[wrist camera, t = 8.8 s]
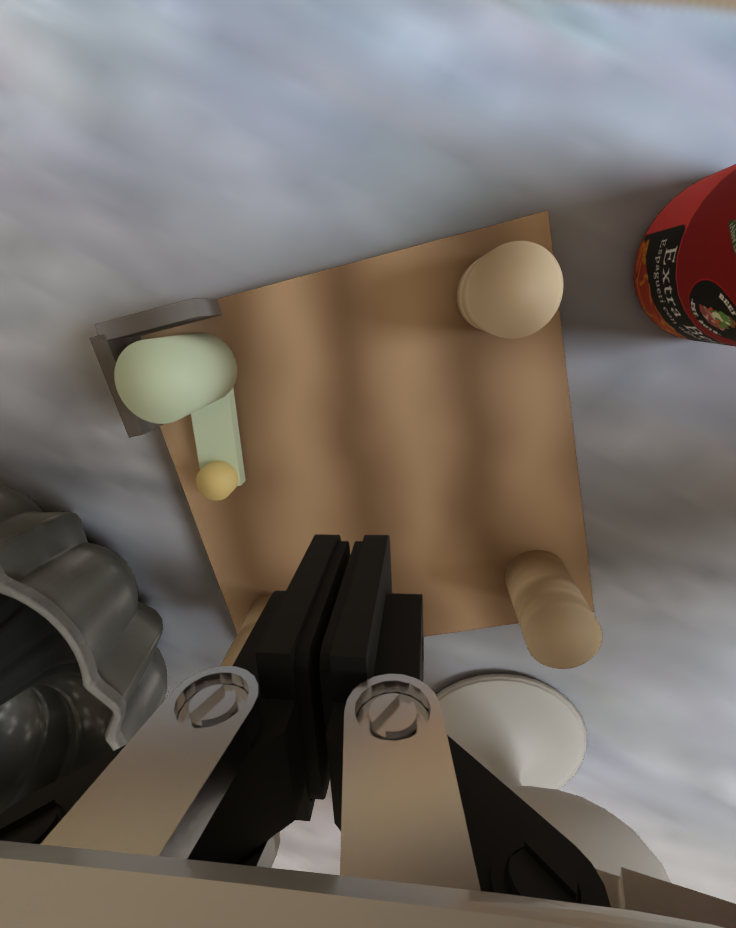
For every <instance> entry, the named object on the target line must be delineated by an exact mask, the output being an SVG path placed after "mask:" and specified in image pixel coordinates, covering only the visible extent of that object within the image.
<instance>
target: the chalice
mask: <svg viewBox="0 0 736 928" xmlns="http://www.w3.org/2000/svg"><path fill="white" fill-rule="evenodd" d="M436 696H437V698H438V700H439V703H440V705H441V709H442V714H443V719H444V723H445V728H446V732H447V735H448V736H449V737H451V738H452V739H453V740H454V741H455V742H456V743H457V744H459V745H460V746H461V747H462V748H463V749H464V750H466V751H467V752H468V753H469V754H470V755H471V756H473V757H474V758H475V759H476V760H477V761H478V762H479V763H481V764H482V765H483V766H484V767H485V768H486V769H488V770H489V771H490V772H491V773H492V774H493V775H494V776H496V777H497V778H498V779H499V780H500V781H501V782H503V783H504V784H505V785H506V786H507V787H508V788H510V789H511V790H512V791H513V792H514V793H515V794H516V795H518V796H519V797H520V798H521V799H522V800H523V801H525V802H526V803H527V804H528V805H529V806H530V807H532V808H533V809H534V810H535V811H536V812H537V813H538V814H540V815H541V816H542V817H543V818H544V819H545V820H547V821H548V822H549V823H550V824H551V825H552V826H554V827H555V828H556V829H557V830H558V831H559V832H560V833H562V834H563V835H564V836H565V837H566V838H567V839H569V840H570V841H571V842H572V843H573V844H574V845H576V847H577V848H578V849H579V850H580V851H581V852H582V853H583V854H584V855H585V856H586V857H587V858H588V859H589V861H590V862H591V863H592V864H593V866H594V868H595V869H598V870H602V871H605V872H608V873H611V874H614V875H617V876H620V871H621V867H623V868H626V869H629V870H632V871H635V872H638V873H641V874H645V875H648V876H651V877H654V878H657V879H660V880H663V881H666V882H669V883H671V882H670V880H669V878H668V876H667V874H666V872H665V869H664V867H663V865H662V863H661V862H660V861H659V860H658V859H657V857H656V856H655V855H654V854H653V853H652V851H651V850H650V849H649V848H648V847H647V846H646V844H645V843H644V842H643V841H642V840H641V838H640V837H639V836H638V835H637V833H636V832H635V831H634V830H633V829H631V828H630V827H629V826H627V825H626V824H625V823H623V822H622V821H621V820H620V819H618V818H617V817H616V816H614V815H613V814H611V813H610V812H608V811H607V810H606V809H604V808H602V807H600V806H598V805H596V804H594V803H592V802H590V801H588V800H587V799H585V798H583V797H580V796H577V795H573V794H570V793H567V792H563V791H560V790H558V789H559V788H561V787H562V786H564V785H565V784H566V783H567V782H568V781H569V780H570V779H571V778H572V777H573V776H574V775H575V774H576V772H577V771H578V769H579V767H580V766H581V764H582V762H583V760H584V757H585V753H586V749H587V729H586V727H585V724H584V721H583V718H582V715H581V714H580V713H579V711H578V710H577V709H576V707H575V706H574V704H573V703H572V702H571V701H570V700H569V699H568V698H566V697H565V696H564V695H563V694H562V693H561V692H559V691H558V690H556V689H555V688H553V687H551V686H549V685H547V684H545V683H543V682H541V681H538V680H535V679H531V678H528V677H525V676H521V675H511V674H501V673H500V674H487V675H478V676H475V677H471V678H467V679H464V680H460V681H458V682H456V683H454V684H452V685H450V686H448V687H446V688H444V689H443V690H441V691H440V692H439V693H438V694H436Z"/></svg>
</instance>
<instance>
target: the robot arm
mask: <svg viewBox="0 0 736 928" xmlns="http://www.w3.org/2000/svg"><path fill="white" fill-rule="evenodd" d="M423 661H424V637H423V595H422V594H401V593H392V575H391V551H390V537H389V535H364V538H363V541H355V543H354V546H353V549H352V552H351V555H350V544H349V541H341V537H340V535H327V534H315V535H314V537H313V539H312V541H311V543H310V545H309V547H308V549H307V551H306V553H305V555H304V557H303V558H302V560H301V562H300V564H299V566H298V568H297V570H296V572H295V574H294V576H293V578H292V580H291V582H290V584H289V586H288V588H287V590H286V591H279V590H277V591H274V592H273V594H272V595H271V596H270V598H269V600H268V602H267V604H266V606H265V607H264V609H263V611H262V613H261V615H260V616H259V618H258V620H257V622H256V624H255V626H254V627H253V629H252V631H251V633H250V635H249V636H248V638H247V640H246V642H245V644H244V646H243V647H242V649H241V651H240V653H239V655H238V656H237V658H236V660H235V662H234V664H233V666H220V667H214V668H209V669H207V670H204V671H201V672H199V673H196V674H194V675H193V676H191V677H189V678H188V679H186V680H184V681H183V682H182V683H181V684H180V685H179V686H178V687H176V688H175V689H174V690H173V691H172V692H171V694H170V695H169V696H168V697H167V698H166V699H165V701H164V702H163V703H162V704H161V705H160V706H159V707H158V709H157V710H156V711H155V712H154V713H153V714H152V716H151V717H150V718H149V719H148V720H147V721H146V723H145V724H144V725H143V726H142V727H141V728H140V729H139V731H138V732H137V733H136V734H135V735H134V736H133V738H132V739H131V740H130V741H129V742H128V743H127V744H126V745H124V746H122V747H120V748H118V749H116V750H114V751H113V752H111V753H109V754H107V755H105V756H103V757H101V758H99V759H97V760H95V761H93V762H91V763H89V764H88V765H86V766H84V767H82V768H80V769H78V770H76V771H74V772H72V773H70V774H68V775H66V776H65V777H63V778H61V779H59V780H57V781H55V782H53V783H51V784H49V785H47V786H45V787H43V788H41V789H40V790H38V791H36V792H34V793H32V794H30V795H28V796H26V797H25V798H23V799H21V800H20V801H18V802H17V803H15V804H13V805H12V806H10V807H9V808H7V809H6V810H5V811H4V812H2V813H1V814H0V928H736V904H734V903H731V902H728V901H725V900H722V899H719V898H716V897H713V896H710V895H706V894H703V893H700V892H697V891H694V890H691V889H688V888H685V887H682V886H679V885H675V884H672V883H669V882H666V881H663V880H660V879H657V878H654V877H651V876H648V875H645V874H641V873H638V872H635V871H632V870H629V869H626V868H623V867H621V871H620V876H617V875H614V874H611V873H608V872H605V871H602V870H598V869H595V868H594V866H593V864H592V863H591V862H590V861H589V859H588V858H587V857H586V856H585V855H584V854H583V853H582V852H581V851H580V850H579V849H578V848H577V847H576V845H574V844H573V843H572V842H571V841H570V840H569V839H567V838H566V837H565V836H564V835H563V834H562V833H560V832H559V831H558V830H557V829H556V828H555V827H554V826H552V825H551V824H550V823H549V822H548V821H547V820H545V819H544V818H543V817H542V816H541V815H540V814H538V813H537V812H536V811H535V810H534V809H533V808H532V807H530V806H529V805H528V804H527V803H526V802H525V801H523V800H522V799H521V798H520V797H519V796H518V795H516V794H515V793H514V792H513V791H512V790H511V789H510V788H508V787H507V786H506V785H505V784H504V783H503V782H501V781H500V780H499V779H498V778H497V777H496V776H494V775H493V774H492V773H491V772H490V771H489V770H488V769H486V768H485V767H484V766H483V765H482V764H481V763H479V762H478V761H477V760H476V759H475V758H474V757H473V756H471V755H470V754H469V753H468V752H467V751H466V750H464V749H463V748H462V747H461V746H460V745H459V744H457V743H456V742H455V741H454V740H453V739H452V738H451V737H449V736H448V735H447V732H446V728H445V723H444V719H443V714H442V709H441V705H440V703H439V700H438V698H437V696H436V694H435V693H434V692H433V691H432V689H431V688H430V687H429V686H428V685H427V684H425V683H423ZM329 780H330V781H331V791H332V801H333V811H334V821H335V824H336V825H337V827H338V828H339V829H340V831H341V855H340V875H331V874H322V873H313V872H303V871H294V870H284V869H275V868H271V867H272V864H273V862H274V860H275V857H276V855H277V851H278V848H279V844H280V831H281V830H282V829H284V828H285V827H286V826H288V825H289V824H290V823H292V822H293V821H294V820H302V821H310V819H311V815H312V810H313V806H314V802H315V799H323V800H324V799H325V797H326V793H327V789H328V785H329Z"/></svg>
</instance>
